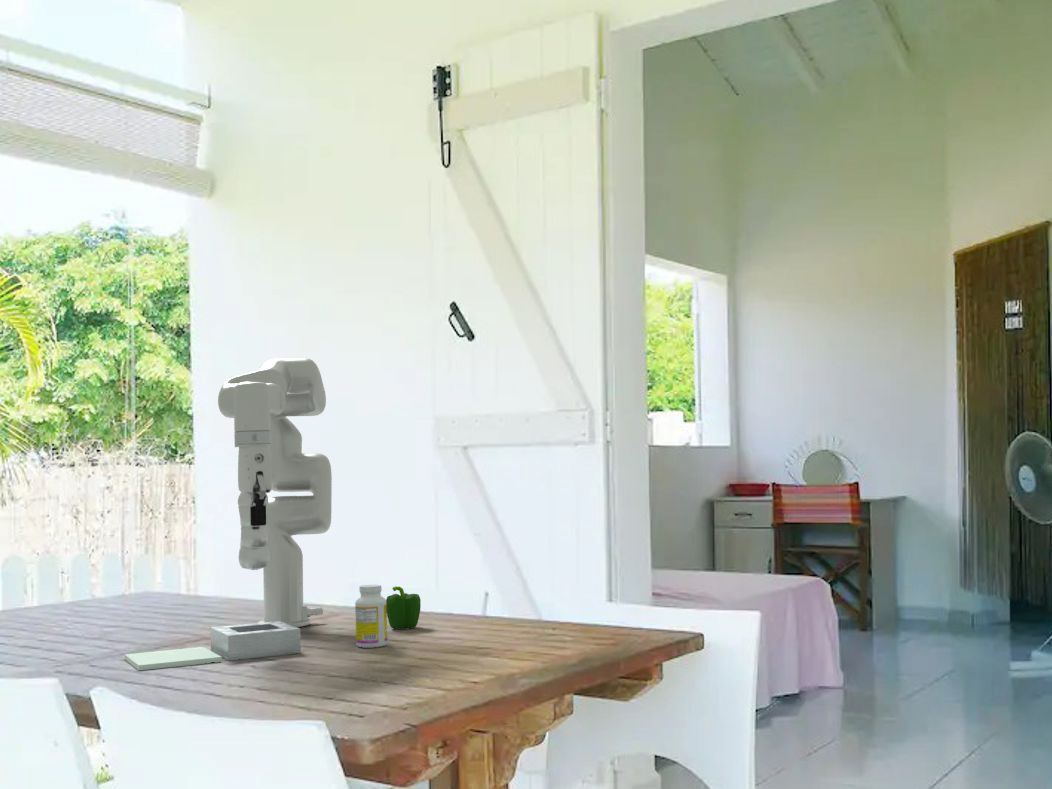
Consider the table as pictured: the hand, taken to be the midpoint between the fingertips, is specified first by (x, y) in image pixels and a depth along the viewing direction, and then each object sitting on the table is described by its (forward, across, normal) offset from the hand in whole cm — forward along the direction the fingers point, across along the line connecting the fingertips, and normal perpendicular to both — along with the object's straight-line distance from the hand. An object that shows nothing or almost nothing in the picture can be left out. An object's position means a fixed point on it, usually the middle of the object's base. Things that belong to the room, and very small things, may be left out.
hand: (253, 523), depth 243 cm
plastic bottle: (+10, 0, 0) cm, 10 cm away
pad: (+27, -1, +17) cm, 32 cm away
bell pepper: (+28, +12, -39) cm, 49 cm away
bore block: (+27, -1, 0) cm, 27 cm away
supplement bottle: (+27, -9, -23) cm, 36 cm away
